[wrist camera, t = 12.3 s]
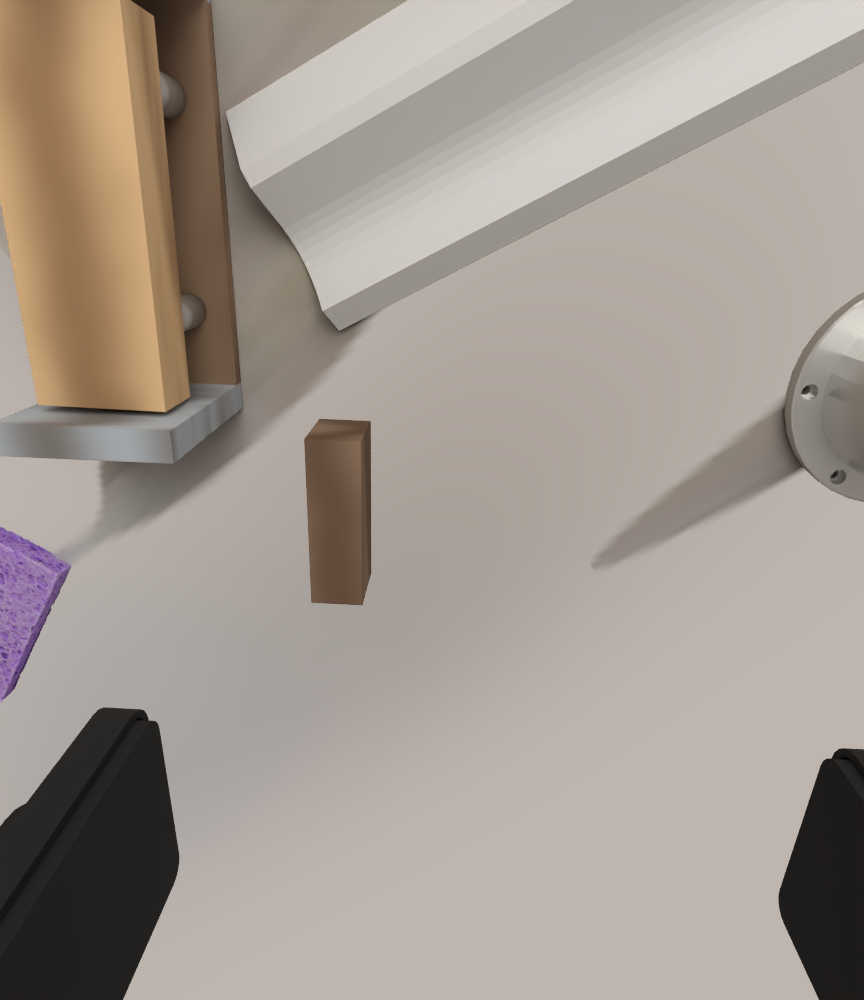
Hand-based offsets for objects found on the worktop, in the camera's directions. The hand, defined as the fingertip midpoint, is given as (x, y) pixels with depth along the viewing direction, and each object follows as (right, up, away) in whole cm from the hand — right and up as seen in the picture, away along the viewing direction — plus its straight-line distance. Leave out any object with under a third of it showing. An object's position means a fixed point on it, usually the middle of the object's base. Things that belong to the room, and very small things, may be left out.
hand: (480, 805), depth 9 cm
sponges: (-31, -3, +36) cm, 47 cm away
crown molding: (+6, +25, +23) cm, 35 cm away
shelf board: (-16, +17, +21) cm, 31 cm away
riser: (-6, +4, +31) cm, 32 cm away
